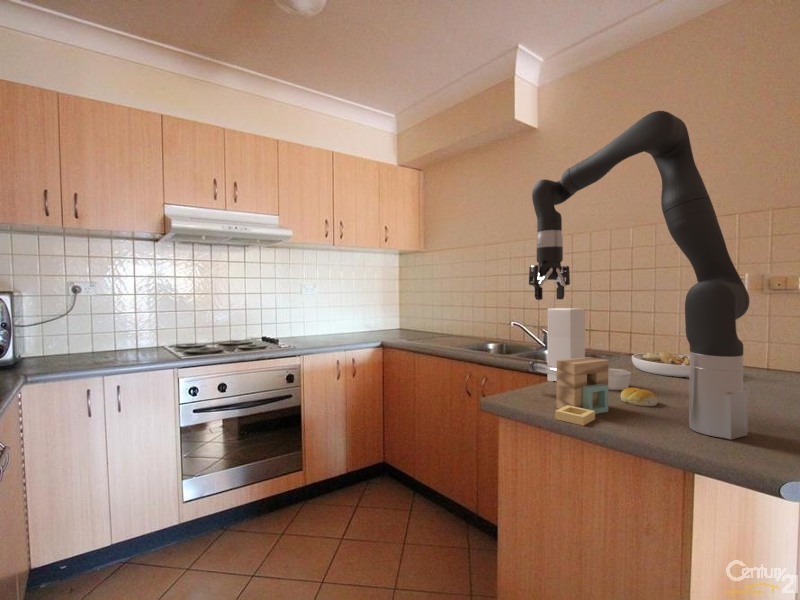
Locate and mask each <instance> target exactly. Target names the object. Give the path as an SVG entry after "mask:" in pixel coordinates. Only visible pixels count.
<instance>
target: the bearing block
mask: <svg viewBox="0 0 800 600" xmlns="http://www.w3.org/2000/svg"><path fill="white" fill-rule="evenodd" d="M608 368H609V360H608V359H604V358H599V357H597V358H596V357H592V356H585V357H584V358H574V359H564V360H557V383H556V408H557V409H560V408H562V407H565V406H567V405H569V406H574V407H579V408H583V386H589V385H596V384H605V385H608ZM593 406H598V392H593Z"/></svg>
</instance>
